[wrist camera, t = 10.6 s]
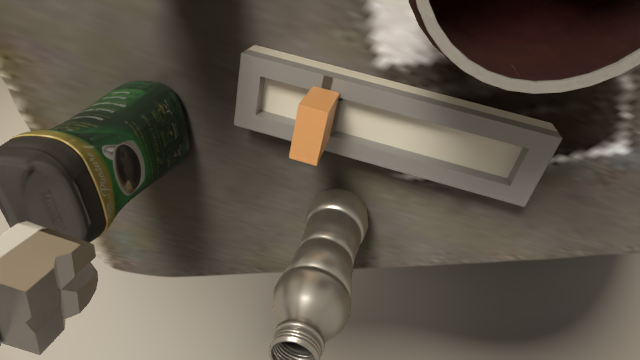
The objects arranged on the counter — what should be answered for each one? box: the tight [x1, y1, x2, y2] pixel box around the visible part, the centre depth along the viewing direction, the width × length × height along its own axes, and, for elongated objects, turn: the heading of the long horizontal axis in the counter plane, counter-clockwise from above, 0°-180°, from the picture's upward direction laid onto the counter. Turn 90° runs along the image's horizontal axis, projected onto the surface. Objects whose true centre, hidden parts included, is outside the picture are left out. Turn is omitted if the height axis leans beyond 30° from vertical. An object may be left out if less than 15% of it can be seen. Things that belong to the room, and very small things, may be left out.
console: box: [234, 45, 562, 207], centre depth 39 cm, size 28×7×4 cm, turn 78°
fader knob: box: [289, 86, 343, 166], centre depth 37 cm, size 3×5×7 cm, turn 168°
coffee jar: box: [0, 81, 190, 242], centre depth 39 cm, size 10×8×19 cm
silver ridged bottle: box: [269, 188, 368, 360], centre depth 38 cm, size 6×7×20 cm
